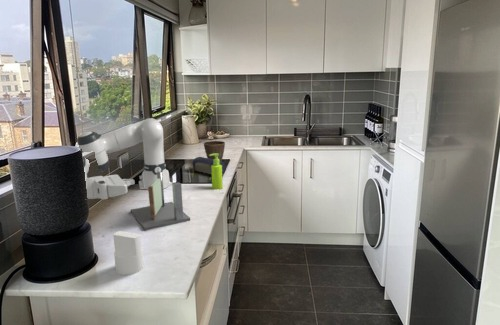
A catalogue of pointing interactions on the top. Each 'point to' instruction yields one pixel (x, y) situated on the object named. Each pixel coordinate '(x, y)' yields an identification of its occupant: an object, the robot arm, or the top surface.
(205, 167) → the portable speaker
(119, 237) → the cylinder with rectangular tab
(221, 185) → the soap dispenser
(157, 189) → the gate leaf
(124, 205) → the top surface
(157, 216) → the gate frame
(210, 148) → the plant pot
